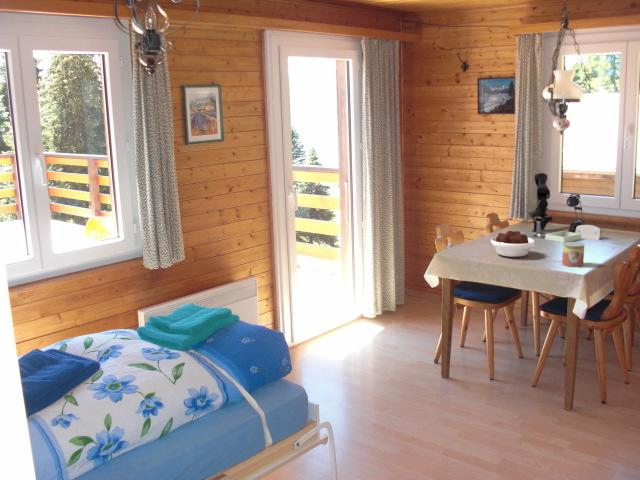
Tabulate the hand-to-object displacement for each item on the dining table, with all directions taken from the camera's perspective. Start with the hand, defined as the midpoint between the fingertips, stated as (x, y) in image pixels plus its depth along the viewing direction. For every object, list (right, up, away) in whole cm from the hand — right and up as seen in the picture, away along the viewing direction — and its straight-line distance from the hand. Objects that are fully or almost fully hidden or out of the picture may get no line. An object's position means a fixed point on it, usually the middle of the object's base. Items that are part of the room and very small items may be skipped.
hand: (540, 229), depth 479 cm
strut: (0, -2, 0) cm, 2 cm away
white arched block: (+29, -6, -6) cm, 30 cm away
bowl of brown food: (-33, -16, -52) cm, 64 cm away
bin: (+11, -7, -10) cm, 17 cm away
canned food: (-6, -21, -77) cm, 80 cm away
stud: (0, -5, +1) cm, 5 cm away
